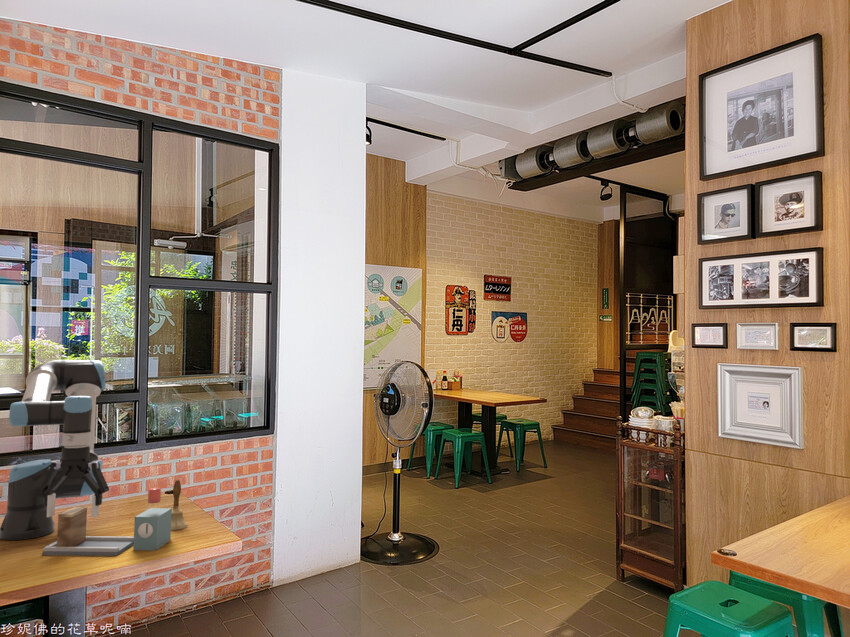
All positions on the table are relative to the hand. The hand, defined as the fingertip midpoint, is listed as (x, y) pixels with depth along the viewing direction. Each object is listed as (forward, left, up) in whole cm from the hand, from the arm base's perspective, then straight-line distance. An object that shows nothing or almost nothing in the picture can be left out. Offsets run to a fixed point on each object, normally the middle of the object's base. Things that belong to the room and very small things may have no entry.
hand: (72, 516), depth 178 cm
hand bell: (+22, +23, -10) cm, 33 cm away
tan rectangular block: (0, 0, -8) cm, 9 cm away
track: (+6, 0, -10) cm, 11 cm away
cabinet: (+23, +4, -10) cm, 25 cm away
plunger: (+23, +4, +3) cm, 23 cm away
